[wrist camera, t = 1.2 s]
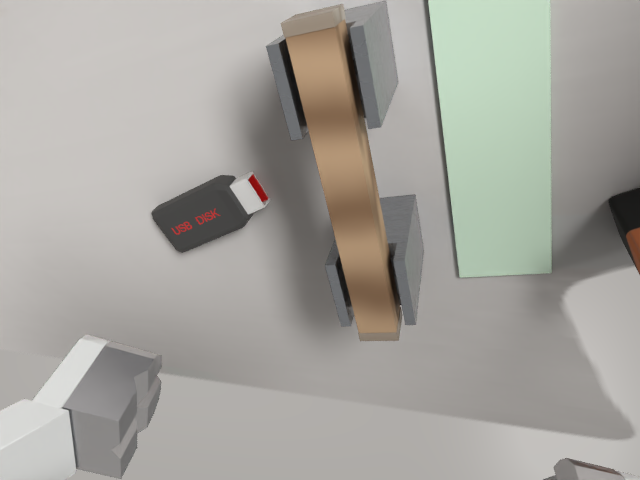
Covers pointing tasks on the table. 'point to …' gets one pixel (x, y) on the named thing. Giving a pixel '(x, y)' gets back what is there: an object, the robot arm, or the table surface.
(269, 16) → the table surface
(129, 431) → the robot arm
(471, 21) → the mat
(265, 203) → the usb drive
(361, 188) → the rail
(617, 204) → the battery
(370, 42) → the stand
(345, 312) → the stand
